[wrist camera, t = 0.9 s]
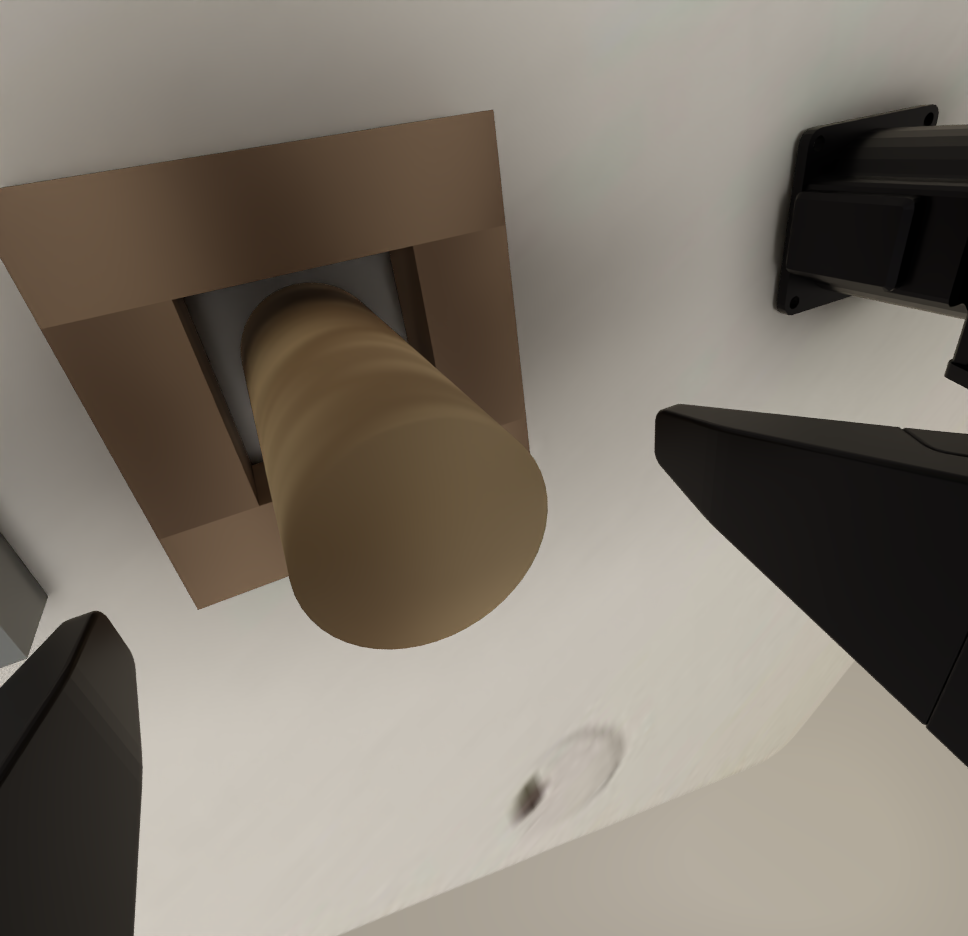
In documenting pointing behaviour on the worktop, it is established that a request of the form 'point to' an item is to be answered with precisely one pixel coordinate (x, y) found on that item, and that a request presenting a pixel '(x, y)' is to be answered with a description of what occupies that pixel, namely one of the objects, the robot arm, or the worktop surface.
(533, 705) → the worktop surface
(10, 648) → the tray
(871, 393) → the worktop surface
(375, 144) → the square wooden frame
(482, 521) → the dowel
